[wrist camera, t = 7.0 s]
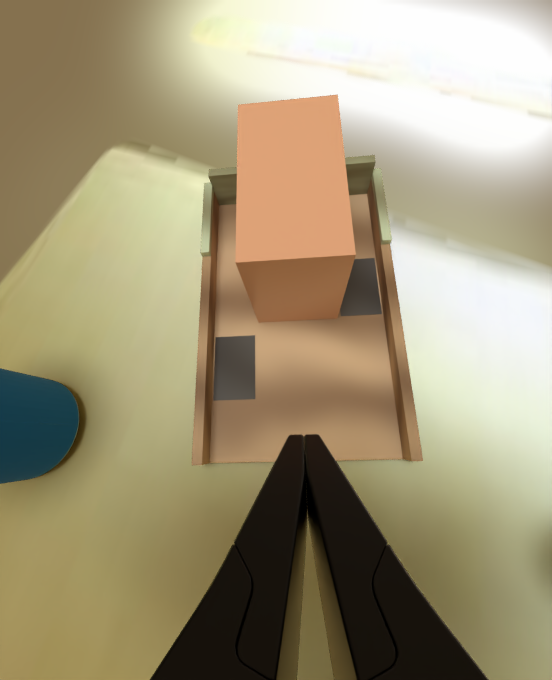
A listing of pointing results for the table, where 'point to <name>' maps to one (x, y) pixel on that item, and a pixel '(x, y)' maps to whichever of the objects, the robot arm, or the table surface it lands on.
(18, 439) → the beverage can
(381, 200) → the box
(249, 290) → the brick
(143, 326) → the table surface
